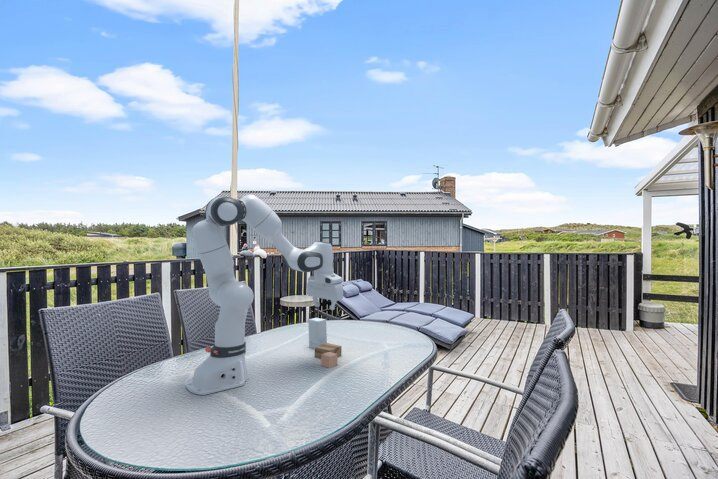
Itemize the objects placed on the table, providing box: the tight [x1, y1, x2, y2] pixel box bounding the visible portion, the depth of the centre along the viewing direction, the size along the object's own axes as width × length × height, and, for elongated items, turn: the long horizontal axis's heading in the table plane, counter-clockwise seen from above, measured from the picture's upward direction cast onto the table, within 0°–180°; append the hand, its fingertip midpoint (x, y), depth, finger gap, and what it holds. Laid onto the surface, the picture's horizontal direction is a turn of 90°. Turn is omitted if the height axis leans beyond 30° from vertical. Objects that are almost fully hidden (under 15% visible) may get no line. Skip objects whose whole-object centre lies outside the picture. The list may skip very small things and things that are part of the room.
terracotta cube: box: [320, 352, 338, 369], centre depth 159 cm, size 5×5×5 cm
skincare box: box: [308, 317, 328, 350], centre depth 185 cm, size 8×6×15 cm
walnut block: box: [314, 342, 342, 360], centre depth 171 cm, size 9×9×5 cm
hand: (324, 308), depth 161 cm, fingers open, 8 cm apart
